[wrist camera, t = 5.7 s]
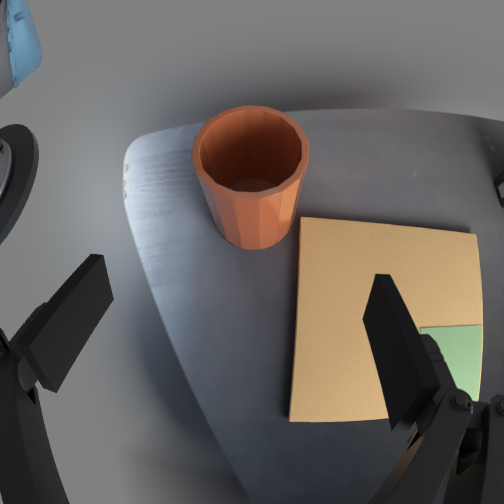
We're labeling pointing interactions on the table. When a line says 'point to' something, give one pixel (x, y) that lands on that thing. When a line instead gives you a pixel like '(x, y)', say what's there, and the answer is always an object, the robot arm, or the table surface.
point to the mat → (355, 300)
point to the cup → (251, 173)
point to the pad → (460, 354)
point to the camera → (500, 188)
